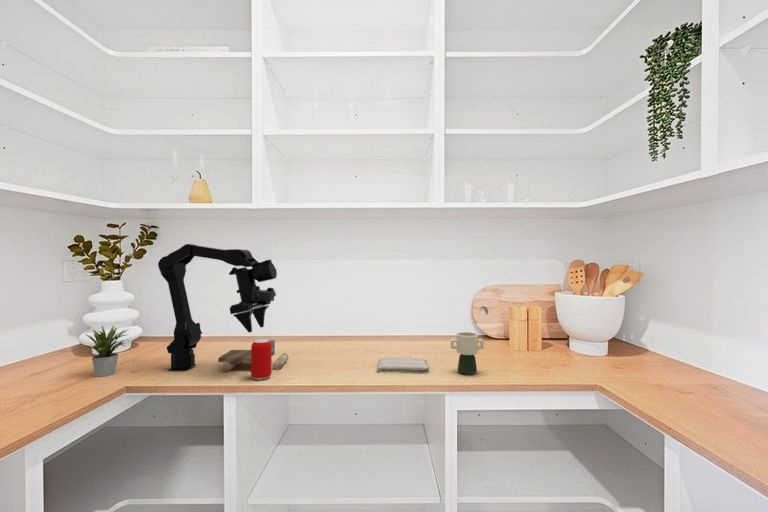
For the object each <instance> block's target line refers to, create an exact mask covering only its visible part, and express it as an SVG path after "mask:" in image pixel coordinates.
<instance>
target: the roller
mask: <svg viewBox="0 0 768 512" xmlns="http://www.w3.org/2000/svg"><path fill="white" fill-rule="evenodd" d="M289 357H290V356H289V355H288V354H287V353H282V354H281V355H279V356H278V358H277V359H276V360H274V362H273V363H272V367H273V368H274V369H275V370H280V369H281V368H282V367H283V366H284V365H285V364H286V363H287V362H288V360H289Z"/></svg>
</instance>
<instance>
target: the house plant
mask: <svg viewBox="0 0 768 512" xmlns="http://www.w3.org/2000/svg"><path fill="white" fill-rule="evenodd" d="M117 329H118V327H116V328H115V325H114V324H113V325H112V327H111V328H110V330H109V331H108V333H106V330H105V328H104V326H103V325H101V331H98V330H97V331H96V329H92V332H93V336H94V337H92V336H91V335H88V334H86V333H84V335H85V336H86V337H88V338H89V339H90V340H91V341H92V342H93V343H94V344H95V345H93V346H91V345H83V346H82V348H90V349H93V350H95V351H96V352H97V354H95V355H92V356H91V360H92V365H93V371H94V375H95V377H97V378H99V377H101V378H102V377H109V376H112V375H114V374H115V373H116V371H117V370H116V368H117V364H118V359H119V353H118V352H114V351H115V350H116V349H118V348H119V347H120V346H123V347H125V348H127V346H126V343H124V342H123V341H126V340H127V341H128V339H123V340H121V341H117V340H118V339H119V338H121V337H125V336H128V335H129V333H128V332H129V331H128V330H129V328H128V329H127V328H126V329H124V330H121V331H120V332H117ZM116 332H117V333H116ZM126 332H127V334H126Z"/></svg>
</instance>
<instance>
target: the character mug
mask: <svg viewBox="0 0 768 512" xmlns="http://www.w3.org/2000/svg"><path fill="white" fill-rule="evenodd" d="M455 335H456V336H455V337H456V338H452V339H450V349H452V350H456V352H457V353H458V354H459V357H458V363H457V371H458V372H459V373H461V374H462V373H463V374H466V375H472V374H475V373H477V372H478V371H477V370H478V369H477V362H476V361H477V359H476V357H475V355H478V352H479V350H483V349H484V347H485V345H484V343H485V342H484V339H483V338H479V335H478V333H476V332H472V331H459V332H456V334H455ZM454 343H456V345H455V344H454ZM479 343H480V345H479Z"/></svg>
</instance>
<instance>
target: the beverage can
mask: <svg viewBox="0 0 768 512" xmlns="http://www.w3.org/2000/svg"><path fill="white" fill-rule="evenodd" d="M250 347H251V349H250V350H251V362H250V363H251V364H250V366H251V367H250V369H251V370H250V371H251V372H250V373H251V374H250V375H251V378H252V379H255V380H257V381H263V379H264V380H266V379H268V378H270V377H271V375H272V357H271V343H270V340H269V339H266V338H259V339H255V340H254V341H253V342H252V344H251V346H250Z"/></svg>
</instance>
